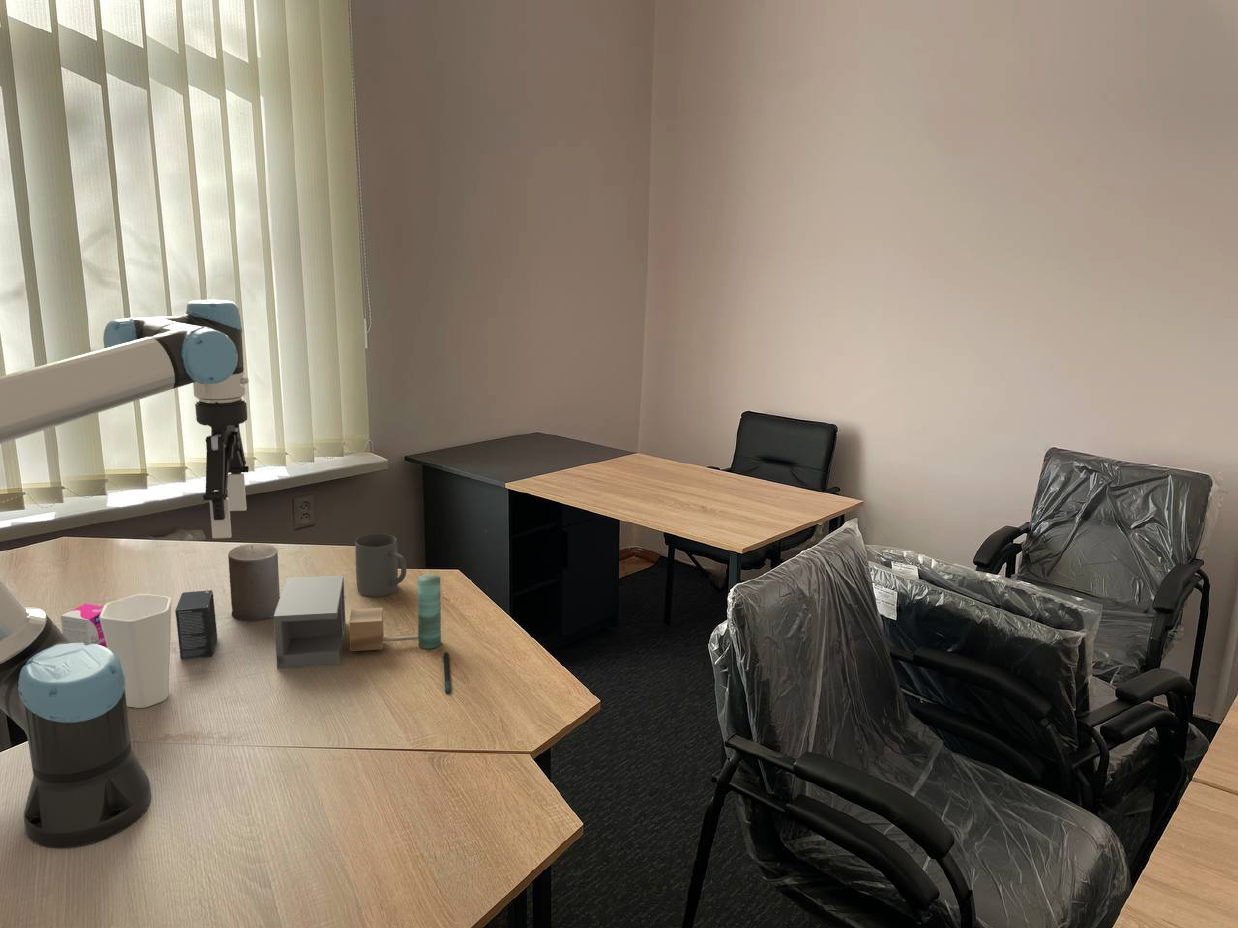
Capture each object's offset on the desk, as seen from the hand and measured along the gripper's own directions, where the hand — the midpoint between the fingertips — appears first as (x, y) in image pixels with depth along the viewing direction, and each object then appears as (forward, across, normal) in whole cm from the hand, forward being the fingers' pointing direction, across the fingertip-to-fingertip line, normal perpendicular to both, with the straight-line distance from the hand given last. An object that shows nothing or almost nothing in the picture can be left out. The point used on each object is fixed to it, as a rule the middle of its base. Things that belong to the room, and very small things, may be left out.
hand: (230, 523), depth 145 cm
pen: (+32, +2, -35) cm, 48 cm away
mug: (+32, +41, -23) cm, 57 cm away
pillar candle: (+32, +34, +3) cm, 47 cm away
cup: (+32, +1, +16) cm, 36 cm away
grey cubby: (+32, +17, -10) cm, 37 cm away
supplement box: (+32, +13, +28) cm, 44 cm away
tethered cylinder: (+32, +14, -26) cm, 43 cm away
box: (+32, +18, +11) cm, 38 cm away
